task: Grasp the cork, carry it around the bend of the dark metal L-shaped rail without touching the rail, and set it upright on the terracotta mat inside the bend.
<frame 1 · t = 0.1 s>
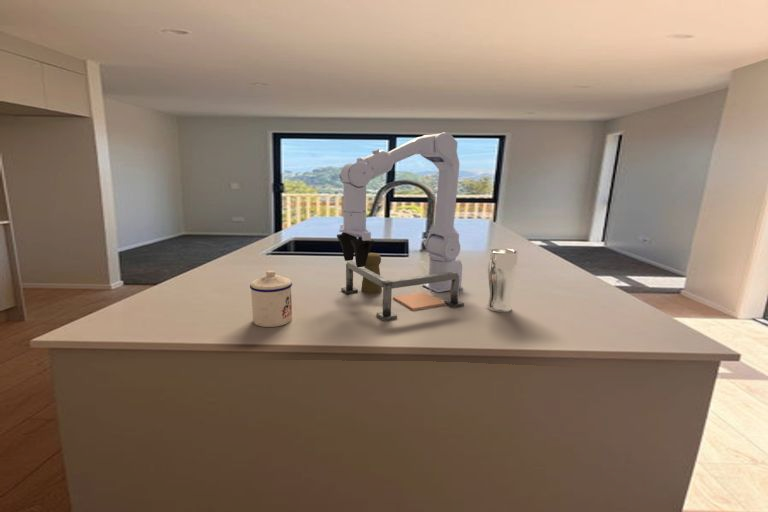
hand: (354, 263, 103), 10 cm above the countertop, fingers open, 7 cm apart
teacup with lid: (273, 318, 91), on the countertop
cork: (371, 291, 113), on the countertop
beer glass: (498, 309, 101), on the countertop
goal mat: (418, 301, 104), on the countertop
bent rail: (394, 300, 106), on the countertop
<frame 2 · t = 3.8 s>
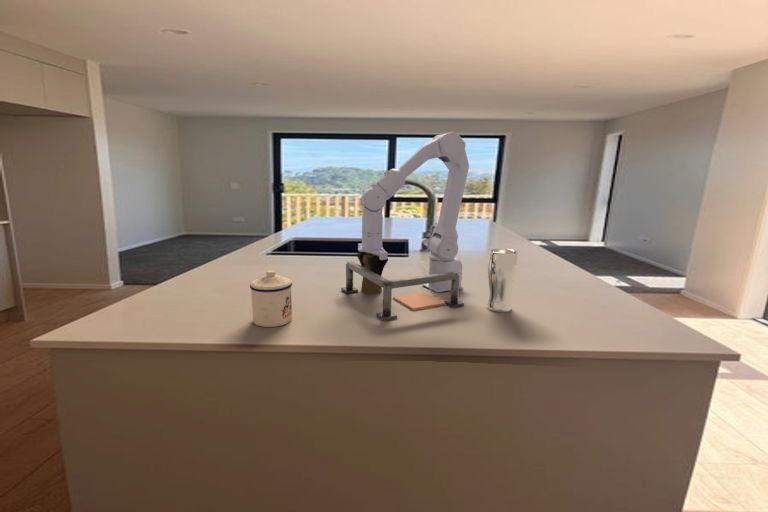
hand: (371, 279, 112), 3 cm above the countertop, fingers closed on cork, 5 cm apart
cork: (371, 291, 113), on the countertop, touching gripper
everything else where it was.
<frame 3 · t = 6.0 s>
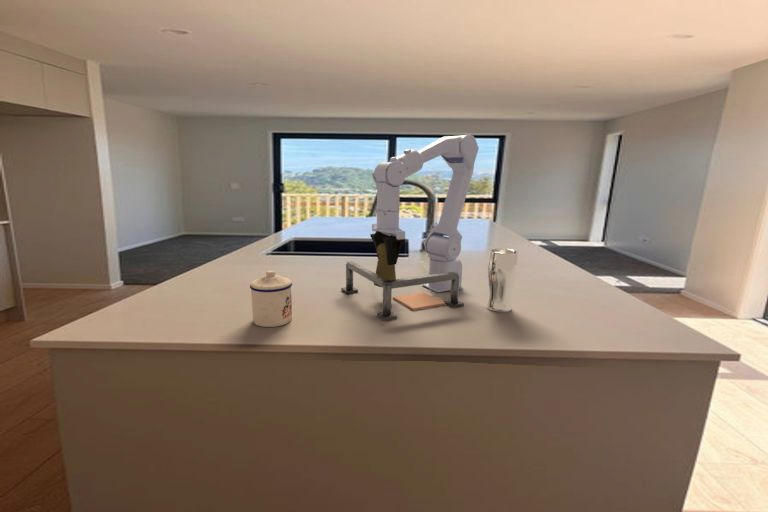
hand: (386, 262, 103), 10 cm above the countertop, fingers closed on cork, 5 cm apart
cork: (384, 285, 105), point 4 cm above the countertop, touching gripper
everything else where it was.
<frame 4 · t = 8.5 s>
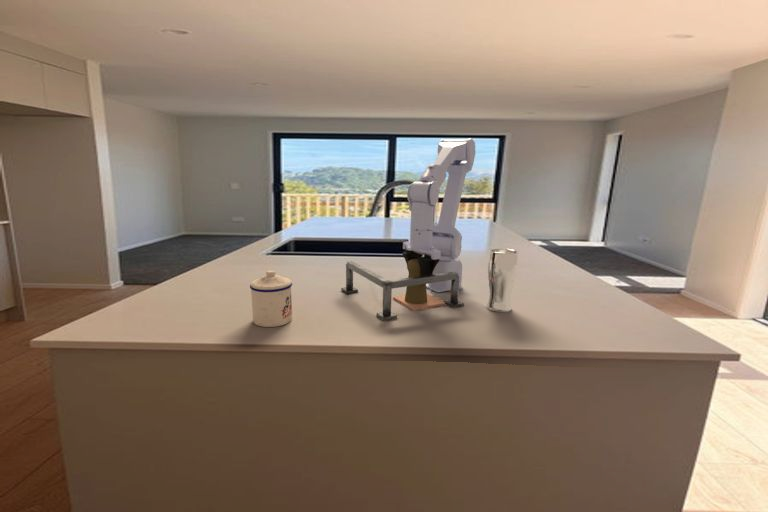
hand: (419, 280, 103), 6 cm above the countertop, fingers closed on cork, 5 cm apart
cork: (415, 300, 104), resting on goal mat, touching gripper
everything else where it was.
when the fingers open (5 cm above the countertop, at t = 9.2 s): cork stays where it is, resting on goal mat.
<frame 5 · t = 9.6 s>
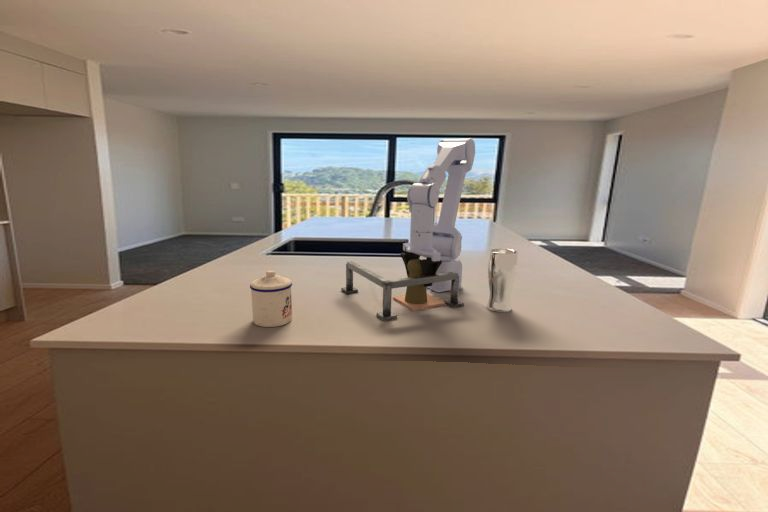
hand: (419, 282, 103), 5 cm above the countertop, fingers open, 7 cm apart
cork: (415, 301, 104), resting on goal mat
everything else where it was.
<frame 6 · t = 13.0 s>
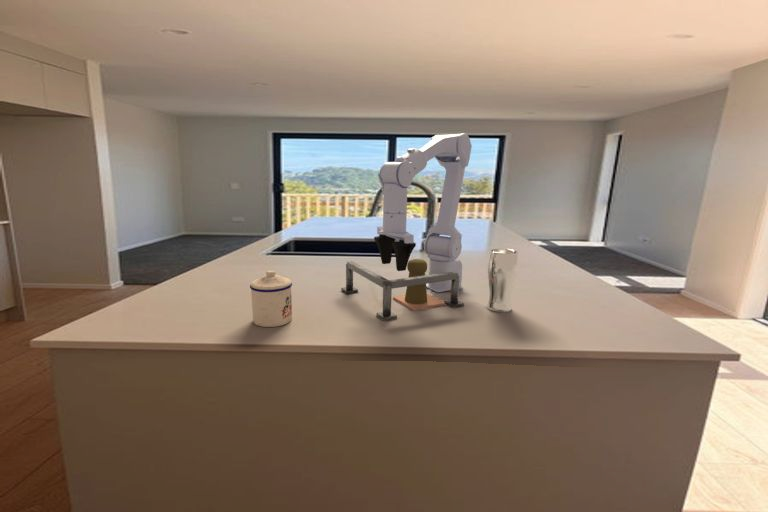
hand: (393, 266, 98), 10 cm above the countertop, fingers open, 7 cm apart
nothing on the countertop moved.
at the end: cork inside the target area (1.0 cm from its centre), resting on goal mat; cork tilted 0°; cork touching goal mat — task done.
